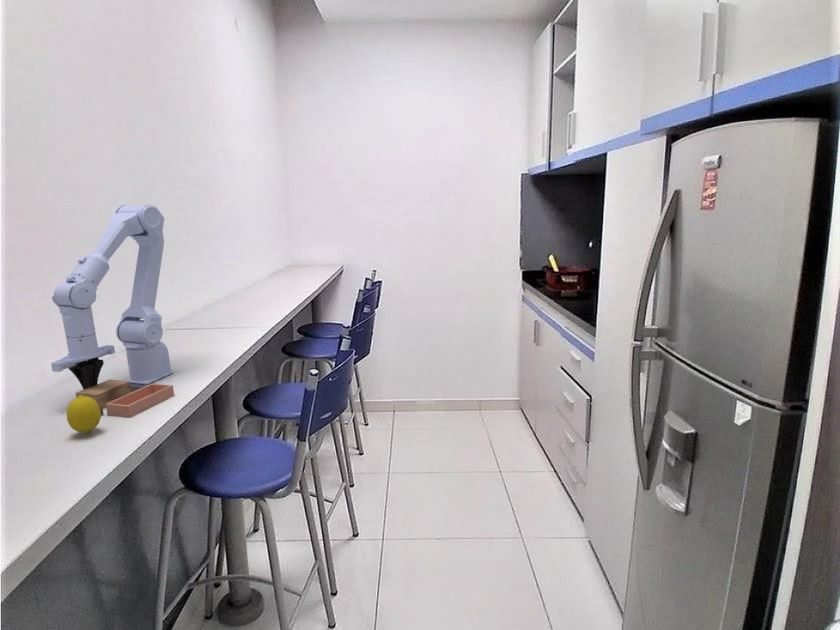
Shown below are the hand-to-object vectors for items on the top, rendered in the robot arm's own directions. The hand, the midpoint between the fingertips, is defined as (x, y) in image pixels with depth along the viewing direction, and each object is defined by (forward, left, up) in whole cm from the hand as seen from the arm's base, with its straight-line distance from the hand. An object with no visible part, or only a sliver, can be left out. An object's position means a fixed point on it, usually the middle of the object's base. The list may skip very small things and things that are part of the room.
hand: (90, 392), depth 121 cm
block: (0, +5, -2) cm, 5 cm away
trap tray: (0, +14, -2) cm, 14 cm away
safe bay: (0, +6, -2) cm, 7 cm away
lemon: (+15, +15, -2) cm, 22 cm away
